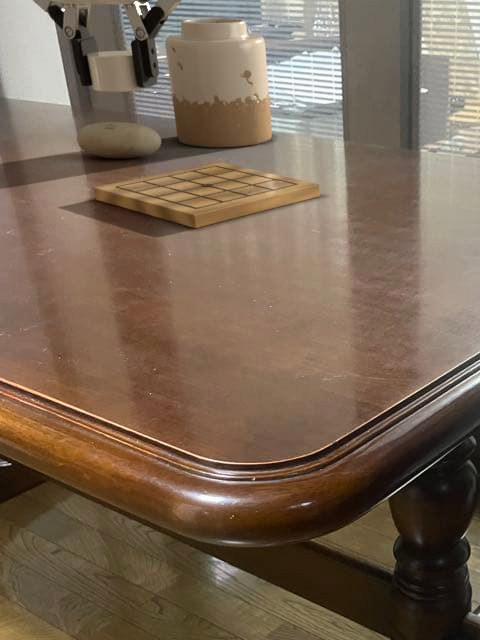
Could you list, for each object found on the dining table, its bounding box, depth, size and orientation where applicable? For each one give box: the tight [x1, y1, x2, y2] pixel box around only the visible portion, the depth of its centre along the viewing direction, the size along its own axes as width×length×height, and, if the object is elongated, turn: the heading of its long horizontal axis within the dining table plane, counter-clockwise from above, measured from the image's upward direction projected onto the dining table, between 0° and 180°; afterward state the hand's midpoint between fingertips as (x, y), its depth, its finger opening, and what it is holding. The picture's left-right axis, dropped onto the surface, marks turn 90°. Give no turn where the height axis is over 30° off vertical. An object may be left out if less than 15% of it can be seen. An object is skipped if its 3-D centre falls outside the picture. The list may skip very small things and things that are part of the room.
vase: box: [164, 17, 273, 148], centre depth 139 cm, size 15×15×17 cm
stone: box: [76, 121, 162, 160], centre depth 130 cm, size 6×6×12 cm
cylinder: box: [87, 50, 147, 93], centre depth 85 cm, size 5×5×3 cm
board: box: [93, 161, 321, 229], centre depth 111 cm, size 20×20×2 cm
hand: (119, 82), depth 86 cm, fingers closed on cylinder, 5 cm apart
